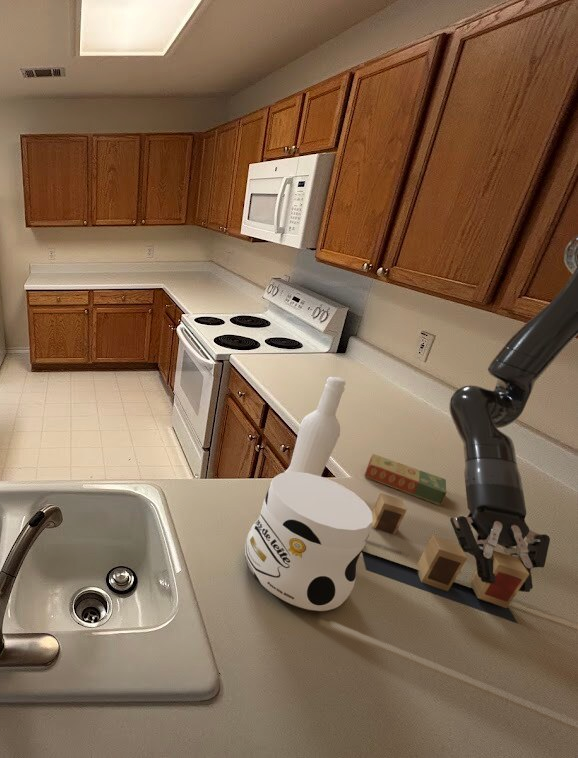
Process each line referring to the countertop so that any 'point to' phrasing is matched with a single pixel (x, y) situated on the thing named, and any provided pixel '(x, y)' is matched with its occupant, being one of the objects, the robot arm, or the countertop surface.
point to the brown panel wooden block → (441, 563)
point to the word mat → (412, 578)
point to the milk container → (308, 540)
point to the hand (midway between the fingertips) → (505, 586)
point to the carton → (407, 479)
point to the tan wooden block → (388, 513)
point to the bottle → (318, 432)
